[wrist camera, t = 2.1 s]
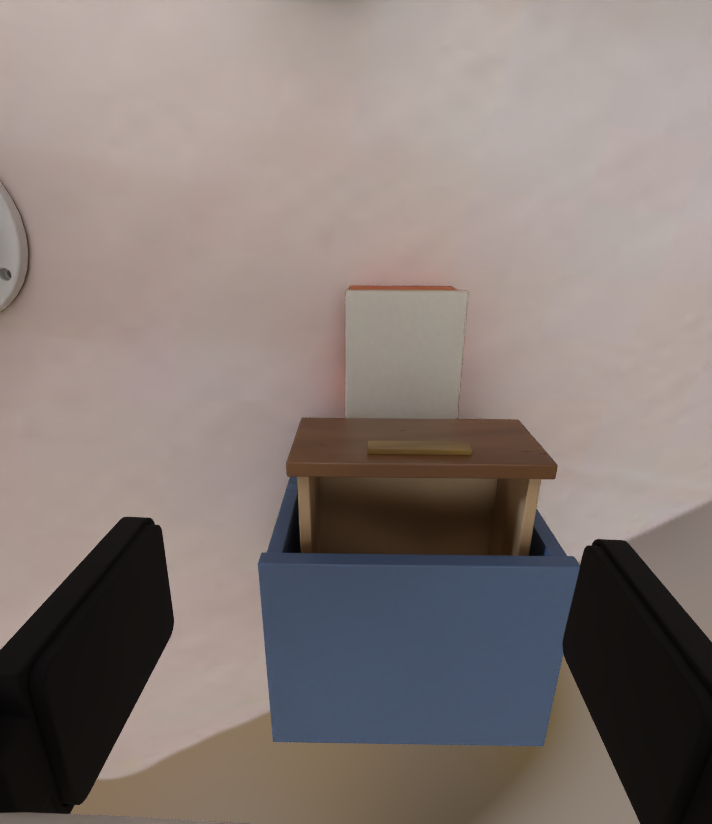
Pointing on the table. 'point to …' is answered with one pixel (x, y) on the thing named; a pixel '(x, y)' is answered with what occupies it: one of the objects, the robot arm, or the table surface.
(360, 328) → the storage box
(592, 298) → the table surface
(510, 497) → the drawer
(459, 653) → the drawer unit
